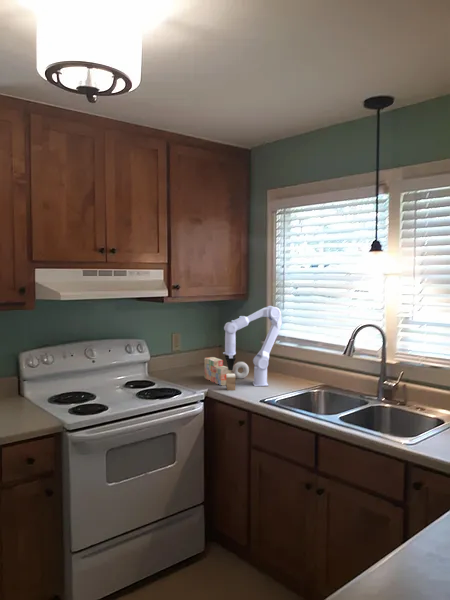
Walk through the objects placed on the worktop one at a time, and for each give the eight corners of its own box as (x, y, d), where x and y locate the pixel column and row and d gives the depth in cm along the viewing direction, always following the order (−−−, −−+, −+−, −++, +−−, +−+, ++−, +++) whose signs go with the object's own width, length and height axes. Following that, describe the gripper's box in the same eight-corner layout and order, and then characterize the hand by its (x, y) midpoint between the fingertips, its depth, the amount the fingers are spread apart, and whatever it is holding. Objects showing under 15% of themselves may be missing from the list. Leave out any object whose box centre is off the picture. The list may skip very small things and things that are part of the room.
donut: (232, 379, 295) (232, 362, 294) (231, 378, 298) (231, 361, 297) (249, 378, 297) (249, 361, 296) (248, 377, 300) (248, 360, 299)
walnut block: (226, 388, 274) (226, 373, 274) (234, 388, 274) (234, 373, 274) (226, 390, 270) (226, 375, 269) (235, 390, 270) (235, 375, 269)
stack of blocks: (230, 384, 283) (230, 362, 282) (220, 386, 280) (220, 363, 279) (213, 377, 302) (213, 356, 301) (204, 378, 299) (204, 357, 298)
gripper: (222, 342, 284) (222, 366, 285) (223, 346, 270) (223, 371, 271) (235, 342, 285) (235, 366, 286) (236, 346, 270) (236, 371, 271)
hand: (230, 369), depth 278 cm, fingers open, 5 cm apart
